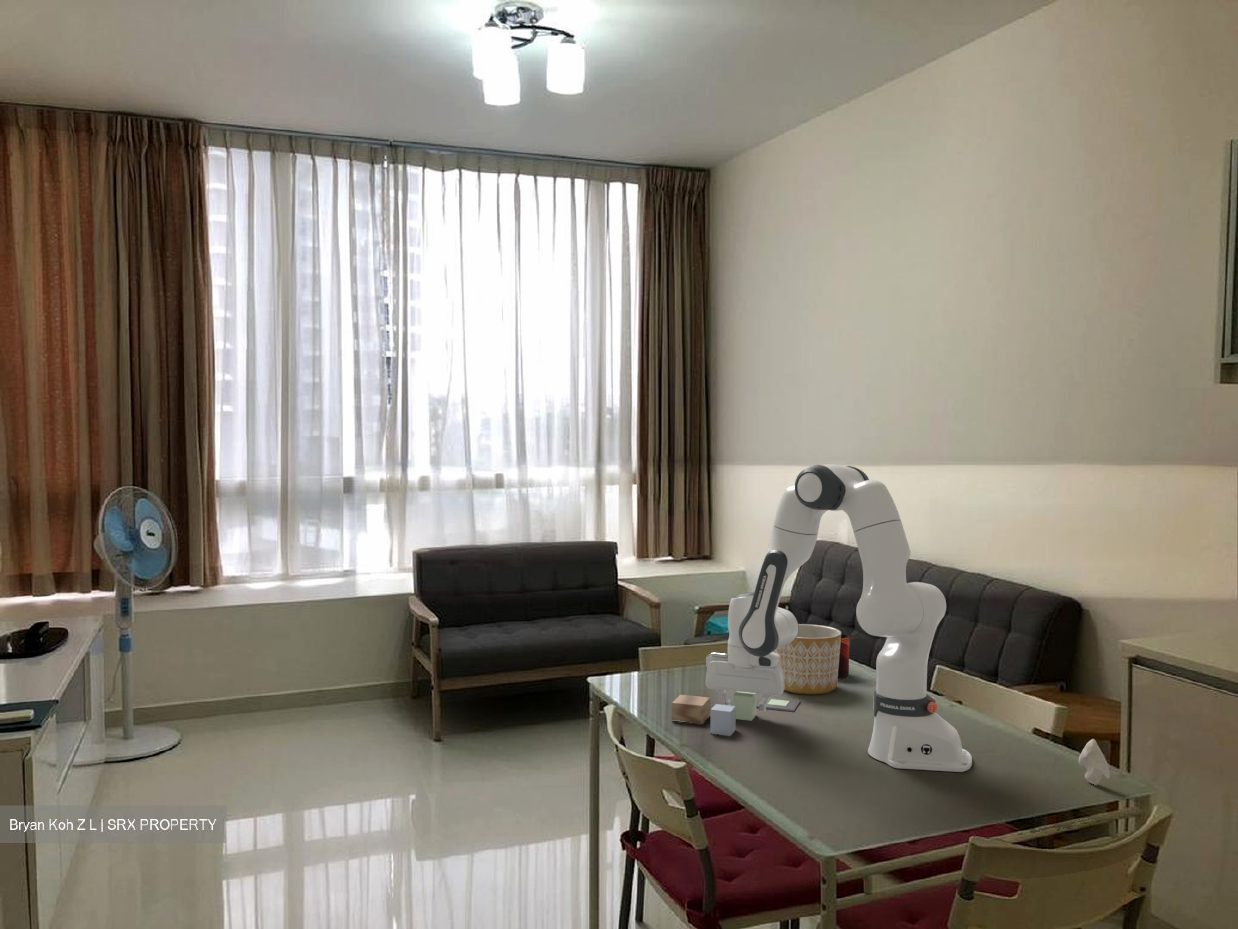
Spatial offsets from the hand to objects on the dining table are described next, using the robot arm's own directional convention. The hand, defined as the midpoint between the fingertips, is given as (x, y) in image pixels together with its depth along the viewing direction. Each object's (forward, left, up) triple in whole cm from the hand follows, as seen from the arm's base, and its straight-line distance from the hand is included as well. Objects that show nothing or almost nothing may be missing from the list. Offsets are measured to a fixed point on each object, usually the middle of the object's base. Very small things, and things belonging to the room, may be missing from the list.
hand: (744, 708), depth 248 cm
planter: (-10, -34, -2) cm, 36 cm away
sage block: (0, 0, -2) cm, 2 cm away
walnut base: (+12, +6, -2) cm, 14 cm away
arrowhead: (-79, +21, -2) cm, 82 cm away
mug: (-14, -53, -2) cm, 55 cm away
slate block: (+2, +14, -2) cm, 14 cm away
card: (-6, -14, -2) cm, 15 cm away
